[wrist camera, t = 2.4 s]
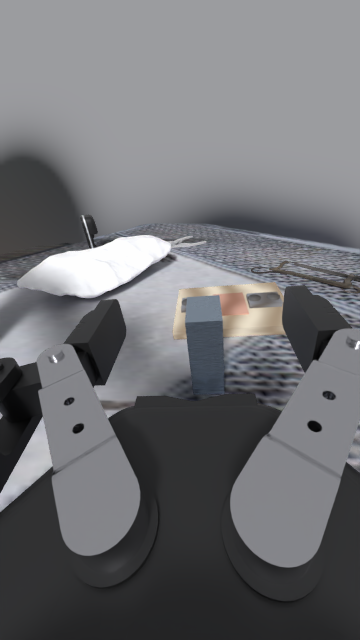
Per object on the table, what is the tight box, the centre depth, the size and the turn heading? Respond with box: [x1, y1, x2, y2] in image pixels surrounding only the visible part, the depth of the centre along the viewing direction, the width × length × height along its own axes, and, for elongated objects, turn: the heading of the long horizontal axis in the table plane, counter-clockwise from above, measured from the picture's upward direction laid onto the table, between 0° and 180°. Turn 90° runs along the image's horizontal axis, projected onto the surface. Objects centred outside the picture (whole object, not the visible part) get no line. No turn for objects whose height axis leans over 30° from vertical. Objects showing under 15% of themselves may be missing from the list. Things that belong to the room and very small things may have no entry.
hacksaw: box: [251, 261, 360, 293], centre depth 49 cm, size 24×10×2 cm, turn 35°
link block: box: [185, 295, 224, 395], centre depth 28 cm, size 4×5×10 cm
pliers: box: [169, 236, 206, 248], centre depth 79 cm, size 10×2×15 cm
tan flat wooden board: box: [173, 282, 286, 339], centre depth 42 cm, size 18×14×2 cm
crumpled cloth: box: [17, 235, 171, 298], centre depth 59 cm, size 24×35×9 cm
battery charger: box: [80, 215, 98, 249], centre depth 79 cm, size 7×4×11 cm, turn 22°
